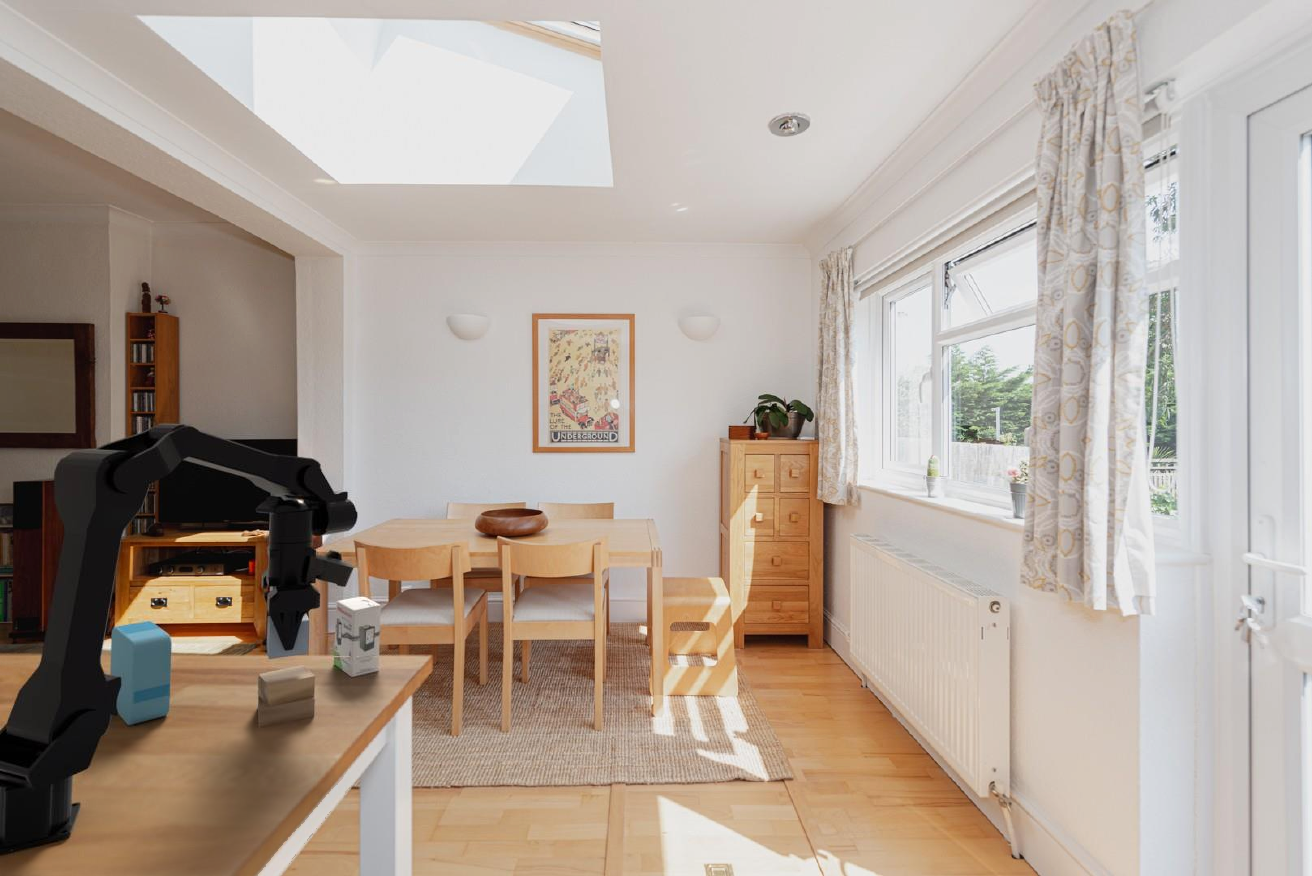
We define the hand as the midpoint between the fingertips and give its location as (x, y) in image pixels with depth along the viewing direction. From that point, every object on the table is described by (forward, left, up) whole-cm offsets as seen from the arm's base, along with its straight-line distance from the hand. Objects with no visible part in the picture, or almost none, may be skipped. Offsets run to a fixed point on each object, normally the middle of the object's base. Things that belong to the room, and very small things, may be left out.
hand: (287, 644), depth 94 cm
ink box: (+14, -12, -10) cm, 21 cm away
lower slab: (0, 0, -10) cm, 11 cm away
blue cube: (0, 0, -1) cm, 1 cm away
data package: (+11, +18, -10) cm, 23 cm away
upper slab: (0, 0, -8) cm, 8 cm away
